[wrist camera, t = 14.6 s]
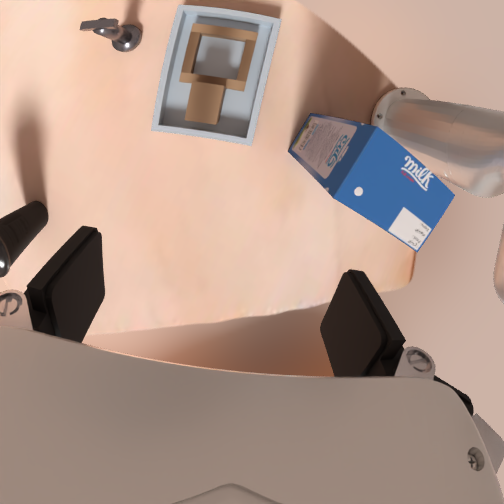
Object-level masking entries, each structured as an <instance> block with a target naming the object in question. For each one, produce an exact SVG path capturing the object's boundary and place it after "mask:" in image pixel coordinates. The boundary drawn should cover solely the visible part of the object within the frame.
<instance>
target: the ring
mask: <svg viewBox="0 0 504 504" xmlns="http://www.w3.org/2000/svg"><path fill="white" fill-rule="evenodd" d="M202 36H207V37H215V38H222V39H229V40H235V41H241V42H246V43H245V47H244V51H243V55H242V59H241V63H240V67H239V71H238V75H237V80H233V79H227V78H221V77H214V76H207V75H200V74H193V72H194V67H195V63H196V59H197V55H198V51H199V47H200V43H201V39H202ZM257 36H258V33H257V32H252V31H247V30H241V29H235V28H229V27H222V26H214V25H206V24H196V23H193V25H192V29H191V32H190V36H189V40H188V44H187V48H186V52H185V56H184V61H183V65H182V70H181V74H180V79H179V82H182V83H191V89H190V94H189V99H188V104H187V109H186V115H185V120H187V121H194V122H201V123H208V124H214V125H216V124H217V123H218V122H219V120H220V115H221V110H222V105H223V101H224V96H225V92H226V89H231V90H237V91H242V92H244V90H245V85H246V81H247V77H248V73H249V69H250V64H251V60H252V56H253V52H254V48H255V44H256V40H257Z"/></svg>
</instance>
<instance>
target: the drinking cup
mask: <svg viewBox="0 0 504 504" xmlns="http://www.w3.org/2000/svg"><path fill="white" fill-rule="evenodd" d="M47 222H48V212H47V210H46V208H45V206H44V205H43V204H42V203H40V202H38V201H34V202H31V203H29V204H27V205H25V206H23V207H22V208H20V209H18V210H16V211H14V212H12V213H10V214H8V215H6V216H5V217H3V218H1V219H0V277H4V276H5V275H6V274H7V273H8V272H9V269H10V267H11V265H12V264H13V263H14V262H15V260H16V259H17V258H18V257H19V255H20V254H21V253H22V252H23V251H24V249H25V248H26V247H27V246H28V245H29V243H30V242H31V241H32V240H33V239H34V238H35V237H36V235H37V234H38V233H39V232H40V231H41V230H42V229H43V228H44V226H45V225H46V224H47Z"/></svg>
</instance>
